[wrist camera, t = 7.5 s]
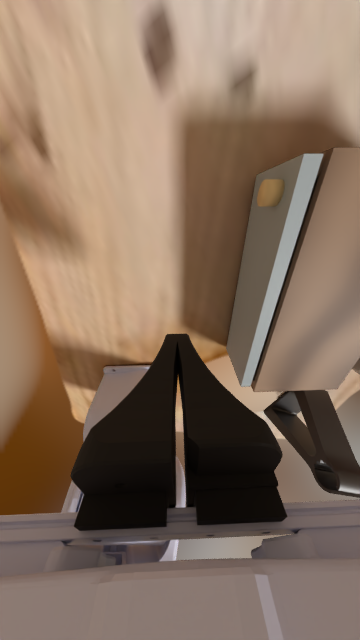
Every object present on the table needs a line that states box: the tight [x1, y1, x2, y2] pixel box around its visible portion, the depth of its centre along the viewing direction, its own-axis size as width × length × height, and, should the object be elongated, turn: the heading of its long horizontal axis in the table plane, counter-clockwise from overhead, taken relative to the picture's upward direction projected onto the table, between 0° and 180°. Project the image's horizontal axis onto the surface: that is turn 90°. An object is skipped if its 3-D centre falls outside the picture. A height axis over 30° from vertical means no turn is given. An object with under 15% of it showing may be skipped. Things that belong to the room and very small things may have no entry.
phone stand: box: [264, 390, 360, 498], centre depth 26 cm, size 9×6×12 cm, turn 154°
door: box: [226, 154, 323, 387], centre depth 16 cm, size 2×18×6 cm, turn 0°
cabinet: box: [251, 147, 360, 392], centre depth 17 cm, size 9×19×6 cm, turn 1°
